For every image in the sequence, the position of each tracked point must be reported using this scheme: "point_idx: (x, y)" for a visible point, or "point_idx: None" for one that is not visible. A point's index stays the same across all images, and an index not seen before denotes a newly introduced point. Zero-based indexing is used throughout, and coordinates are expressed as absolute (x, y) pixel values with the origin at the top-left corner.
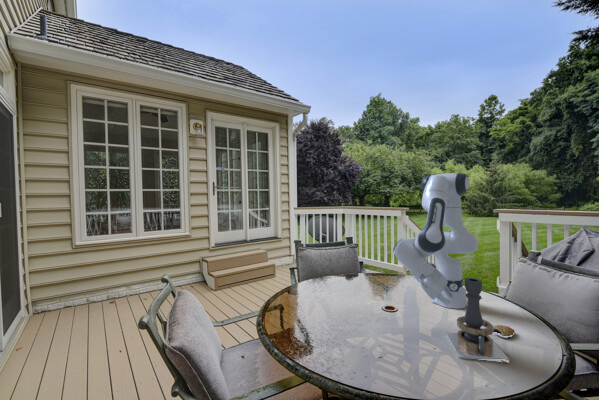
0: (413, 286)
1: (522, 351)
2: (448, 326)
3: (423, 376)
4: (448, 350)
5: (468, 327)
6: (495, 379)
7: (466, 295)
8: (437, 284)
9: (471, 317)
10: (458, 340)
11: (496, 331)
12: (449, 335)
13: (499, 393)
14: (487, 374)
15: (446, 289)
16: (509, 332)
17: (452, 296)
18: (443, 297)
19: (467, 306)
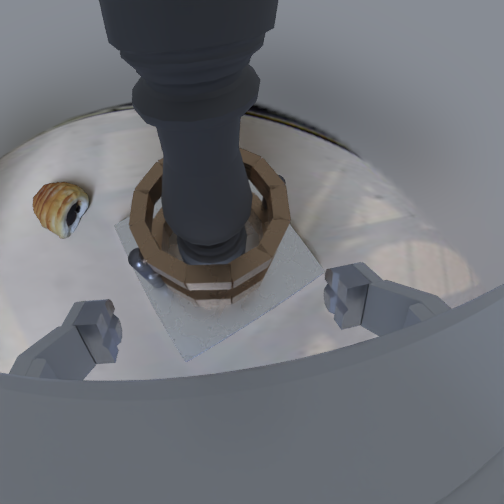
0: None
1: (142, 156)
2: (98, 372)
3: (452, 308)
4: (297, 317)
5: (289, 212)
6: (341, 184)
7: (233, 108)
8: (453, 425)
9: (248, 185)
10: (247, 292)
11: (72, 214)
12: (204, 342)
13: (380, 176)
14: (337, 199)
15: (53, 374)
16: (68, 184)
17: (111, 306)
18: (420, 292)
19: (205, 182)
